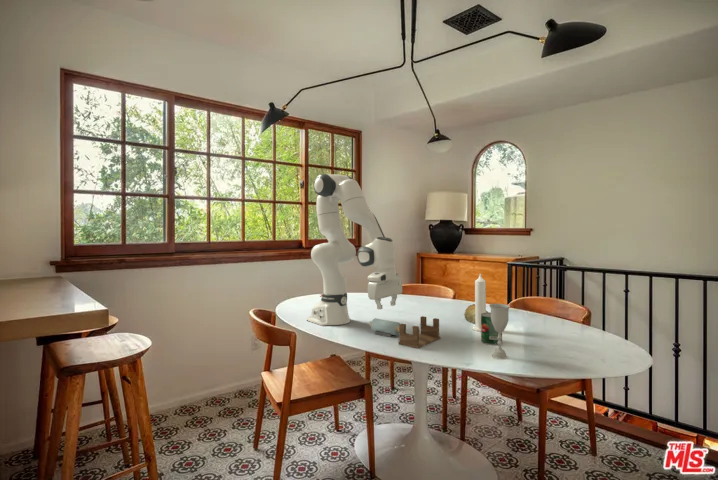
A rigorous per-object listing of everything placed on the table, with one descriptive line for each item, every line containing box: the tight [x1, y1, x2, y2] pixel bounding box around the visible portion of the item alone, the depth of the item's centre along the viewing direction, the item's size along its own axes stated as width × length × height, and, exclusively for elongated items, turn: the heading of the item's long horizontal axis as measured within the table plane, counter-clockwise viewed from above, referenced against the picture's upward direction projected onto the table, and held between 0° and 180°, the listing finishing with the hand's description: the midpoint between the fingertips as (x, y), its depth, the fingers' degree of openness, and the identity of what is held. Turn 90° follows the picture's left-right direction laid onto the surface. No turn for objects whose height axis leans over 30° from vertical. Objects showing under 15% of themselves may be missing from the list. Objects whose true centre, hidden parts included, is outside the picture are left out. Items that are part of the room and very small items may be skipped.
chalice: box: [488, 303, 511, 360], centre depth 139 cm, size 7×7×18 cm
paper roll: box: [369, 317, 401, 336], centre depth 170 cm, size 16×6×6 cm, turn 49°
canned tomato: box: [480, 311, 503, 346], centre depth 156 cm, size 8×8×11 cm
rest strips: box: [374, 331, 392, 338], centre depth 170 cm, size 8×5×1 cm, turn 49°
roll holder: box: [398, 315, 441, 349], centre depth 159 cm, size 17×9×8 cm, turn 139°
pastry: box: [463, 303, 489, 325], centre depth 191 cm, size 14×12×8 cm
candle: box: [472, 273, 487, 333], centre depth 174 cm, size 7×7×25 cm
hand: (386, 307), depth 169 cm, fingers open, 8 cm apart
